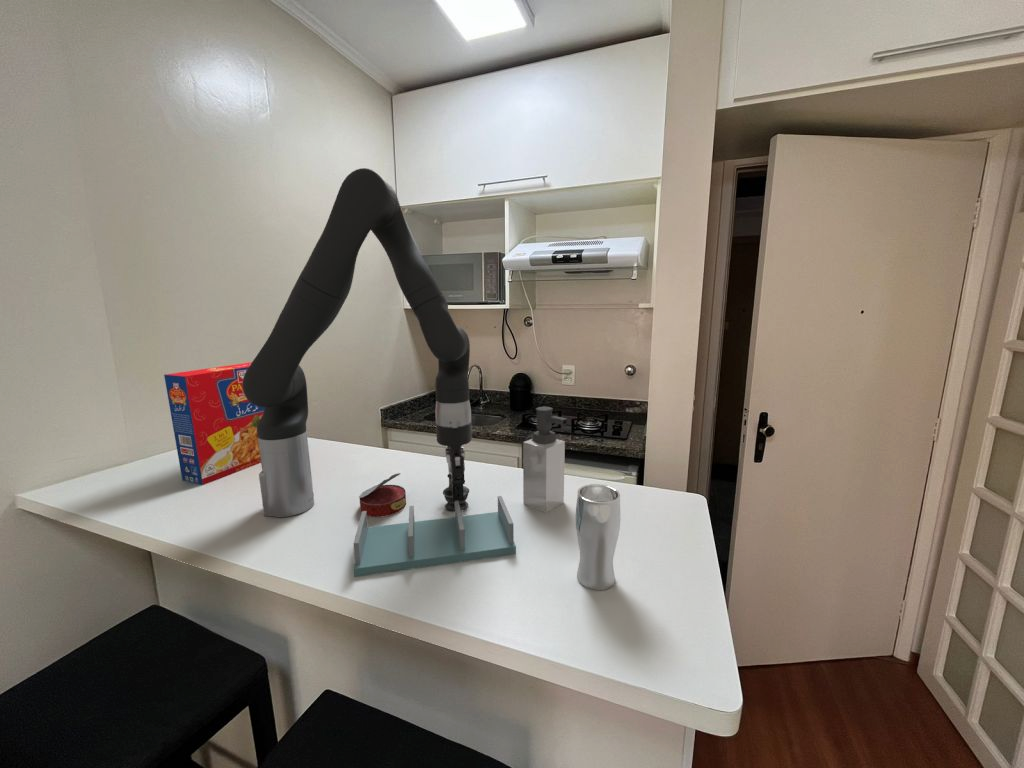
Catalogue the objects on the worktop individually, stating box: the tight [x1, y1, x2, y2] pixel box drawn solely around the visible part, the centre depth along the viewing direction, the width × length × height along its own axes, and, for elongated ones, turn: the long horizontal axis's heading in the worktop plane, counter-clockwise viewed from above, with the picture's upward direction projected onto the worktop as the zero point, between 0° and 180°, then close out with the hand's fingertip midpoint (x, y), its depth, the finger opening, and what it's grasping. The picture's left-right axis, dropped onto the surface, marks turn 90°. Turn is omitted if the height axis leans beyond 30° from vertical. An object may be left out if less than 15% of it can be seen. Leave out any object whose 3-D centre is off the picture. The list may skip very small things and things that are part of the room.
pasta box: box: [163, 361, 265, 486], centre depth 115 cm, size 28×8×28 cm, turn 159°
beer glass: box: [575, 483, 622, 591], centre depth 66 cm, size 7×7×15 cm
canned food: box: [358, 472, 407, 518], centre depth 91 cm, size 11×10×10 cm
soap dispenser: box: [522, 406, 568, 514], centre depth 90 cm, size 6×9×22 cm
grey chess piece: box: [442, 473, 470, 513], centre depth 91 cm, size 6×6×12 cm
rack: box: [352, 495, 517, 578], centre depth 77 cm, size 28×13×6 cm, turn 103°
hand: (456, 490), depth 91 cm, fingers open, 8 cm apart
